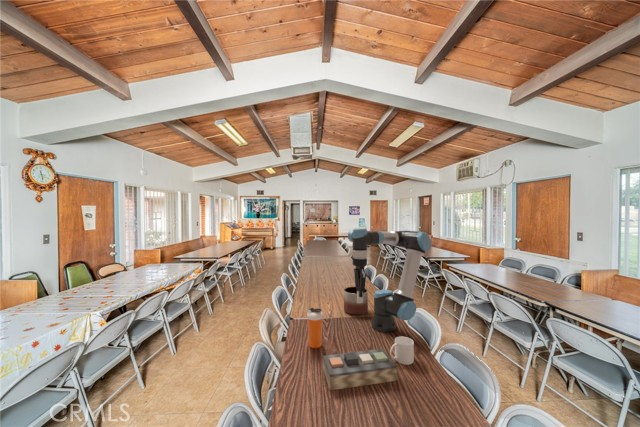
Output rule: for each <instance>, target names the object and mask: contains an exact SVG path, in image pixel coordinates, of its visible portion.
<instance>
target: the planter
mask: <svg viewBox="0 0 640 427" xmlns="http://www.w3.org/2000/svg"><path fill="white" fill-rule="evenodd" d="M368 293H369V292H368V289H367V288H365V291H363V303H357V287H355V286H348V287H345V288H344V289H343V310H344V312H345V313H347V314H349V315H353V316H354V315H355V316H360V315H361V316H362V315H366V313H368V311H369V309H368V308H369V307H368V306H369V303H368V302H369V300H368V299H369V297H368V296H369V294H368Z"/></svg>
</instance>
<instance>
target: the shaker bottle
mask: <svg viewBox="0 0 640 427" xmlns="http://www.w3.org/2000/svg"><path fill="white" fill-rule="evenodd" d="M306 319H307V331H308V332H307V334H308V335H307V336H308V346H309V347H310V348H311V349H319V348H320V347H322V342H323V341H322V339H323V338H322V337H323V319H324V313H323V312H322V309H321V308H314V307H310V308H309V309H308V311H307V315H306Z"/></svg>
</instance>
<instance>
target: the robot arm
mask: <svg viewBox="0 0 640 427" xmlns="http://www.w3.org/2000/svg"><path fill="white" fill-rule="evenodd" d="M347 238H348V241H349V242H350V243H352V252H351V254H352V266H354V267H355V268H353V274H354V287H357V303H363V291H365V289H366V280H367V273H366V272H365V271H366V270H365V267H366V266H367V265H368V247H370V246H379V245H390V246H392V247H399V248H402V249H404V250H405V251H406V256H405V260H404V263H403V264H404V265H403V268H402V272H401V275H400V280H399V284H398V288H397V290H396V291H394V292H393V290H390V289H377V290H375V291H374V295H373V309H374V310H373V313H374V314H373V316H372V320H371V327H372V328H373V329H374V330H375V331H377V332H378V331H379V332H381V333H390V332H394V331H395V330H396V329H397V328H396V326H397V324H396V321H395V318H398V319H400V320H403V321H410V320H411V319H412V318H413V317H414V316H415V315H416V311H417V303H416V302H415V301H414V300H415V298H414V296H413V294H414V293H413V292H414V288H415V285H416V280H417V276H418V273H419V267H420V263H421V259H422V257H423V256H425V253H426V252H429V250H430V249H431V248H432V247H431V246H432V240H431V237H430V234H428V233H427V232H425V231H417V230H415V231H414V230H397V231H395V230H392V231H380V230H375V231H374V230H367V228H361V227H359V228H358V227H356V228H353V229H350V230H349V231H348V233H347ZM394 317H395V318H394Z"/></svg>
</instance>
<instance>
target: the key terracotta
mask: <svg viewBox="0 0 640 427" xmlns="http://www.w3.org/2000/svg"><path fill="white" fill-rule="evenodd" d="M329 363H330V365H331V368H336V367H343V362H342V360H341V358H340V357H336V358H329Z"/></svg>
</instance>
